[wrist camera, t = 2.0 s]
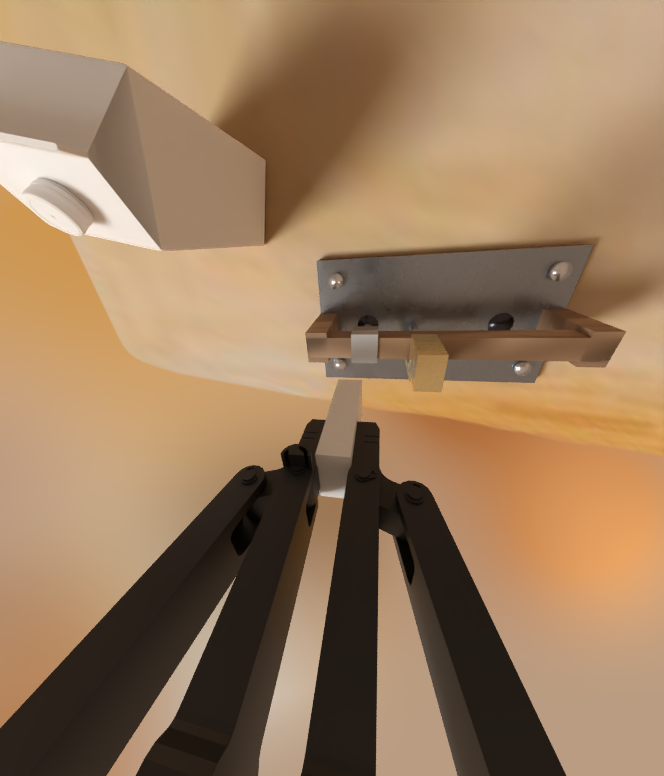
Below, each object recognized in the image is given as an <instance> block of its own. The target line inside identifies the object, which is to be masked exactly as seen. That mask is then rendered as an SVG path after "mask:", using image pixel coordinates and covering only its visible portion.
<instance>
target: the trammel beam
mask: <svg viewBox="0 0 664 776" xmlns="http://www.w3.org/2000/svg"><path fill="white" fill-rule="evenodd" d="M625 333H626V331H623V330H621V329H618V328H615V327H613V326H610V325H607V324H605V323H602V322H600V321H597V320H594V319H592V318H589V317H586V316H584V315H581V314H578V313H576V312H573V311H570V310H568V309H543V311H542V314H541V317H540V319H539V322H538V325H537V327H536V330H460V331H378V326H371V325H370V324H365V326H354V327H353V330H352V331H339V328H338V313H325V314H320V316H319V317H318V318H317V319H316V320H315V322H314V323H313V324H312V325H311V327H310V328H309V329H308V330H307V332H306V333H305V334H306V342H307V350H308V358H309V362H329V360H330V358H352V363H377V359H409V353H410V344H411V335H412V334H437V336H438V337H439V339H440V341H441V343H442V344H443V346H444V348H445V350H446V351H447V353H448V355H449V357H448V360H513V361H568V362H570V363H571V364H573V365H574V366H576V367H606V365H607V364H608V362H609V360H610V358H611V357H612V355H613V353H614V352H615V350H616V348H617V346H618V345H619V343H620V341H621V340H622V338H623V336H624V334H625Z"/></svg>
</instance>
